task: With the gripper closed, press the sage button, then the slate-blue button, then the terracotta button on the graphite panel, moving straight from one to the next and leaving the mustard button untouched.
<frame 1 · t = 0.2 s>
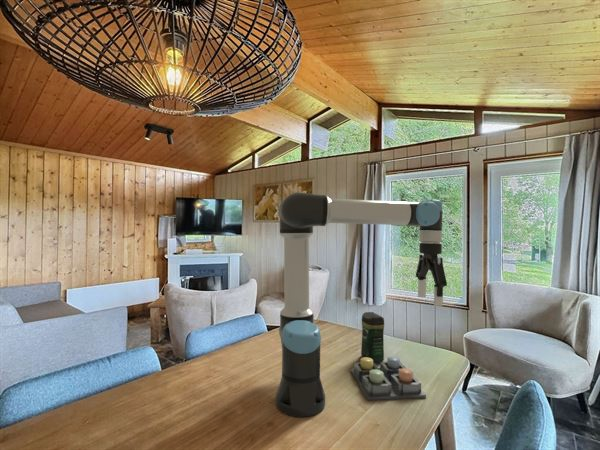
hand: (429, 301, 116), 27 cm above the table, fingers open, 13 cm apart
sage button: (376, 377, 105), point 5 cm above the table, slide at 0.0 cm
slate button: (393, 363, 116), point 5 cm above the table, slide at 0.0 cm
coffee jar: (372, 359, 131), on the table
button panel: (385, 383, 110), on the table
terracotta button: (405, 375, 106), point 5 cm above the table, slide at 0.0 cm
mustard button: (366, 363, 114), point 5 cm above the table, slide at 0.0 cm
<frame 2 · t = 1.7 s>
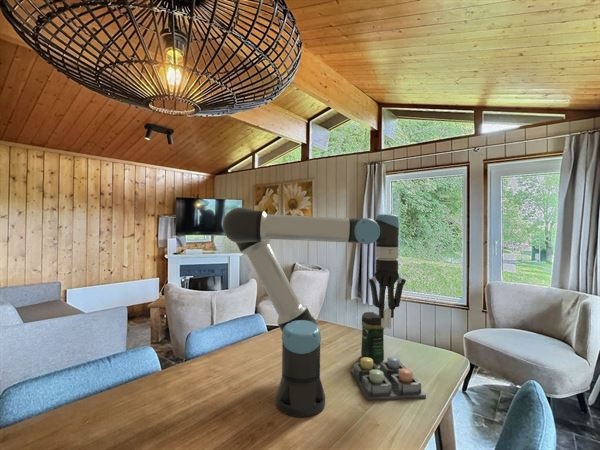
hand: (386, 327, 110), 19 cm above the table, fingers closed
nothing on the table moved.
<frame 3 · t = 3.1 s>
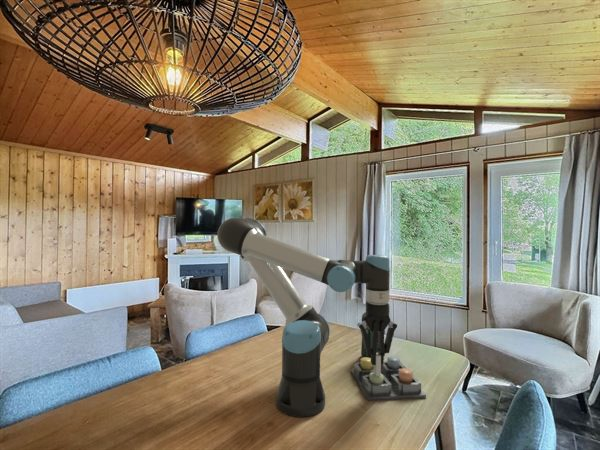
hand: (377, 374, 104), 6 cm above the table, fingers closed
sage button: (376, 379, 105), point 4 cm above the table, slide at 0.8 cm, touching gripper
everything else where it was.
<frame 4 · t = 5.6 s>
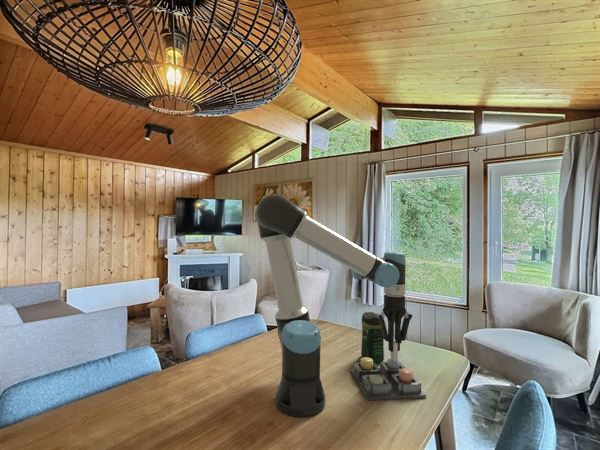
hand: (394, 359, 116), 6 cm above the table, fingers closed
sage button: (376, 382, 104), point 3 cm above the table, slide at 1.8 cm
slate button: (393, 364, 116), point 4 cm above the table, slide at 0.6 cm, touching gripper
everything else where it was.
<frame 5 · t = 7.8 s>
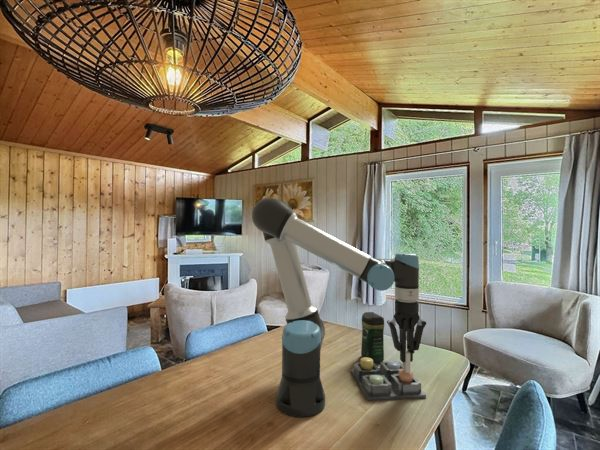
hand: (406, 371, 106), 6 cm above the table, fingers closed
slate button: (393, 368, 116), point 3 cm above the table, slide at 1.8 cm
terracotta button: (405, 376, 106), point 5 cm above the table, slide at 0.2 cm, touching gripper
everything else where it was.
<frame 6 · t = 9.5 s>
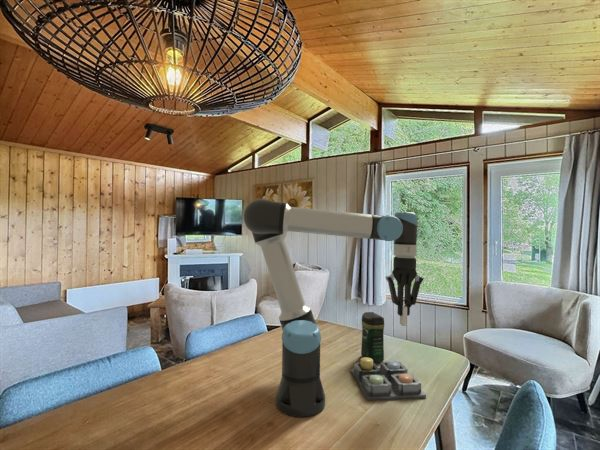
hand: (403, 324, 111), 20 cm above the table, fingers closed
terracotta button: (405, 381, 106), point 3 cm above the table, slide at 1.8 cm
everything else where it was.
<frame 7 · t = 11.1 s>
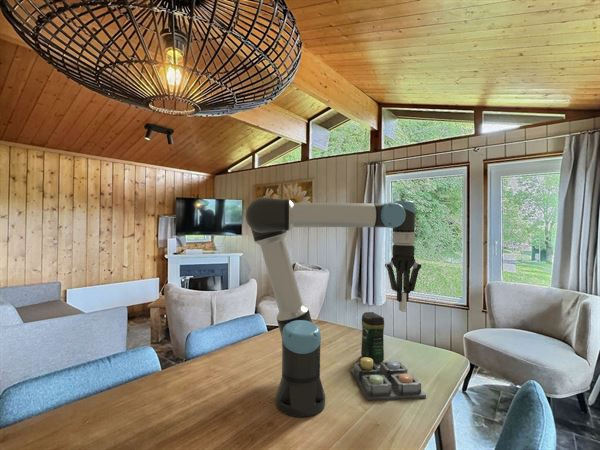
hand: (402, 310, 113), 24 cm above the table, fingers closed
nothing on the table moved.
at the end: sage button slide at 1.8 cm; slate button slide at 1.8 cm; terracotta button slide at 1.8 cm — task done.
